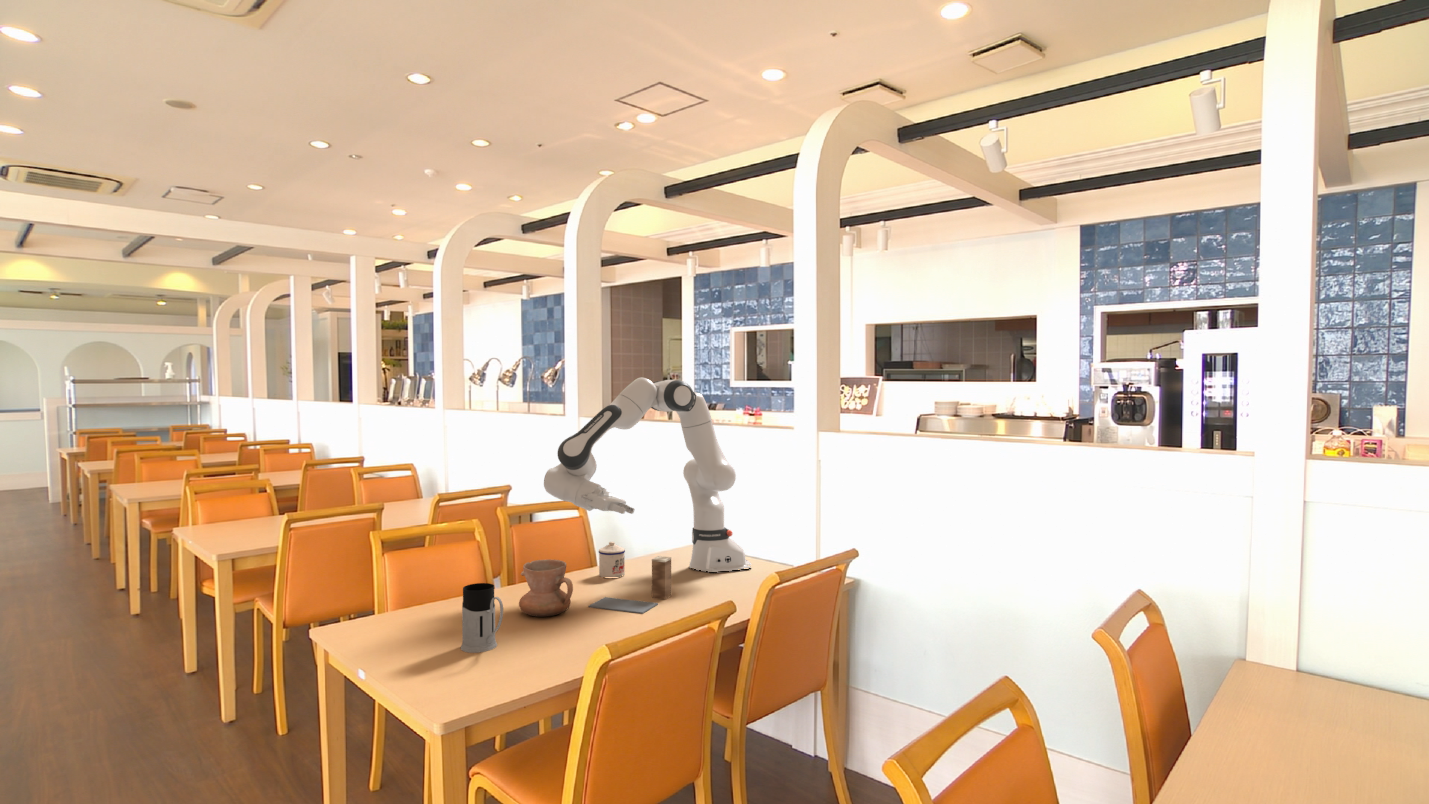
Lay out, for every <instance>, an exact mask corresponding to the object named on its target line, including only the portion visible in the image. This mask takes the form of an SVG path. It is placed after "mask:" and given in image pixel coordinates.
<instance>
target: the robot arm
mask: <svg viewBox="0 0 1429 804" xmlns="http://www.w3.org/2000/svg"><path fill="white" fill-rule="evenodd" d="M650 409H652V410H654V411H657V412H665V413H671V412H672V413H673V412H676V414H677V415H678V417H679V420H680V421H679V422H680V426H681V430H682V433H683V434H682V435H683V438H684V442H685V447H686V449H687V451H689V452H690V454H691V456H692V457H693V459H690V460H689V461H687V462H686V463H685V465H684V467H683V472H682V473H683V477H684V480H685V481H686V483H687V484H688V488H689V492H690V496H691V500H692V506H693V507H692V508H693V512H692V513H693V527H692V530H691V543H692V551H691V552H692V553H691V558H690V561H689V566H690V567H689V566H688V567H689V568H690V569H691V568H694V569H696V570H695V571H699V570H701V572H706V571H708V572H707V573H709V572H717V573H719V572H718V571H729V572H733V571H732V570H738V569H744V568H750V567H751V566H748V565H752V563H751V561H749V560H747V559H746V554H745V553H746V552H745V551H744V549H743V547H741V546H740V545H739V544H738V543H737V542H735V541H734V540H733V539H731V538H730V537H732V536H733V534H734V533H733V531H732V530H731V529H728V528H727V527H725V506H724V503H723V502H722V500H721V498H720V495H719V492H725V491H727V490H730V489H731V488H732V487H733V486H734V484H735V481H736V479H737V477H736V476H737V475H736V471H735V469H734V467H733V466H732V464H730V463H729V462H728V460H727V459H726V456H725V455H724V452H723V450H722V448H721V447H720V444H719V441H718V439H717V436H716V433H715V428H714V424H713V420H712V415H711V412H710V409H709V407H708V405H707V401H706V400H705V397H704V396H703V395H702V394H701V393H699V392H695V391H693V389H692V386H691V385H689V384H688V383H687V382H686V381H682V380H680V379H679V380H678V379H665V380H659V381H658V380H657V381H654V382H653V381H652V380H650V379H648V378H646V377H642V376H641V377H638V378H635V380H632V382H630V383H629V384H628V385H627V386H626V387H625V388H624V389H622V391H620V392H619V394H618V395H617V396H616V397H615V398H614V399H613V401H611V402H610V404H608V405H607V406H605V407H603V409H601V410H600V411H599V412H598V413H597V414H596V415H595V416H593V417H592V418H591V419H590V420H589V421H588V422H587V423H586V424H585V425H584V426H583V427H582V428H580V430H579V431H577V432H576V433H574V434H573V435H570V436H569V437H567V438H566V439H564V440H563V441H562V442H561V443H560V444H559V446H558V448H557V458H558V461H559V462H560V464H558V465H556V466H554V467H552V468H549V469H547V471H546V472H545V475H544V479H543V487H544V489H545V491H546V493H547V494H549V495H551V496H553V497H554V498H556V499H559V500H561V501H564V502H569V503H572V504H573V505H574V506H576V507H578V508H581V509H584V510H586V511H588V512H591V511H592V510H599V511H602V512H616V513H619V514H625V513H627V514H631V515H633V514H634V513H635V508H634V507H632V506H630V505H628V504H627V501H626V500H625V499H623V498H621V497H619V496H617V495H615V494H614V493H612V492H608V491H607V488H605V487H602V486H601V485H600V484H598V483H596V482H593V481H591V479H592V477H593V476H594V474H595V473H596V471H597V461H596V459H595V457H594V455H593V453H592V451H593V447H594V445H595V444H596V443H597V442H598V441H599V440H600V439H601V438H602V437H603V436H604V435H606V433H607V432H608V431H609V430H612V429H614V428H616V429H618V430H630V429H632V428H634V427H635V425H637V424H638V423H639V422H640V421H641V419H642V418H643V417H644V416H645V415H646V414H647V412H648V411H649V410H650ZM694 569H693V570H694Z"/></svg>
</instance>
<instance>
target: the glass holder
mask: <svg viewBox="0 0 1429 804" xmlns="http://www.w3.org/2000/svg"><path fill="white" fill-rule="evenodd" d="M495 600H497V601H498V603H499V611H500V612H499V617H498V618H499V619H498V622H497V625H496V604H495ZM461 606H462V607H461V609H462V610H461V611H462V612H461V613H462V614H461V615H462V616H461V619H462V620H461V622H462V625H461V626H462V631H461V632H462V633H461V634H462V641H461V642H462V643H461V645H460V650H461V651H463V652H465V653H470V654H471V653H473V654H475V653H484V652H487V651H492V650H494V649H495V648H497V647H498V643H497V641H496V633H497V631H498V630H499V629H500V628H501V624H502V622H503V619H504V616H503V615H504V604H503V601H502V598H500V597H498V596H495V585H494V584H493V583H490V582H489V583H487V582H477V583H471V584H467V585H465V586H463V587H462V605H461Z"/></svg>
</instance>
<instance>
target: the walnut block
mask: <svg viewBox="0 0 1429 804" xmlns="http://www.w3.org/2000/svg"><path fill="white" fill-rule="evenodd" d="M671 596H672V557H671V556H661V555H657V556H655V557H653V558H652V559H651V598H652V599H658V600H659V599H660V600H667V599H669V598H670V597H671Z"/></svg>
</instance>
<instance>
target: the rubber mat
mask: <svg viewBox="0 0 1429 804" xmlns="http://www.w3.org/2000/svg"><path fill="white" fill-rule="evenodd" d="M658 605H659V603H658V602H653V601H645V600H643V601H642V600H635V599H625V598H615V597H610V596H607V597H606V596H604V597H603V598H601V599H599V600H597V601H595V602H593V603H591V604H589V605H588V608H592V609H601V610H610V611H617V612H618V611H619V612H625V613H633V614H634V613H635V614H641V615H643V614H645V613H647V612H648V611H650V610H651V609H653V608H655V607H656V606H658Z"/></svg>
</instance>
